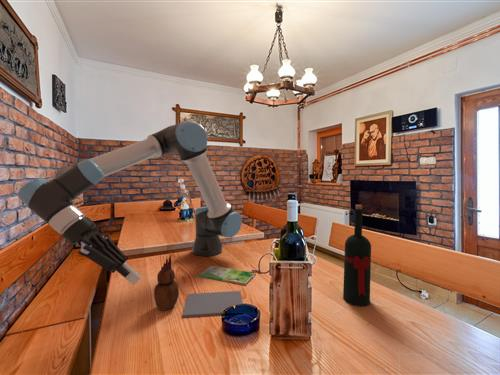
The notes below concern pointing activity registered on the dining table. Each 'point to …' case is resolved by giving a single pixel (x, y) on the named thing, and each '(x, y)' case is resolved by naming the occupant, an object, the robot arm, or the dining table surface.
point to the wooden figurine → (166, 287)
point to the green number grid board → (227, 275)
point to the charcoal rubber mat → (210, 303)
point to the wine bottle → (357, 265)
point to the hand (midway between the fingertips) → (137, 280)
